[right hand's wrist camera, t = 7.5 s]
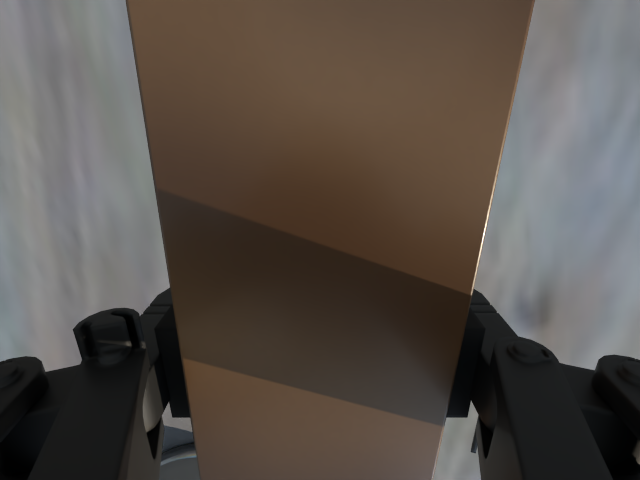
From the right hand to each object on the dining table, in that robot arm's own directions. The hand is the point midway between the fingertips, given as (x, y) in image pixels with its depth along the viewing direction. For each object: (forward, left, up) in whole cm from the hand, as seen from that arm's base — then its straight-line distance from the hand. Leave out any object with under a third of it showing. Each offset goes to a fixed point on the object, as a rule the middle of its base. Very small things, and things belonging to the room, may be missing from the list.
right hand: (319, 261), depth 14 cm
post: (+10, +29, -1) cm, 30 cm away
